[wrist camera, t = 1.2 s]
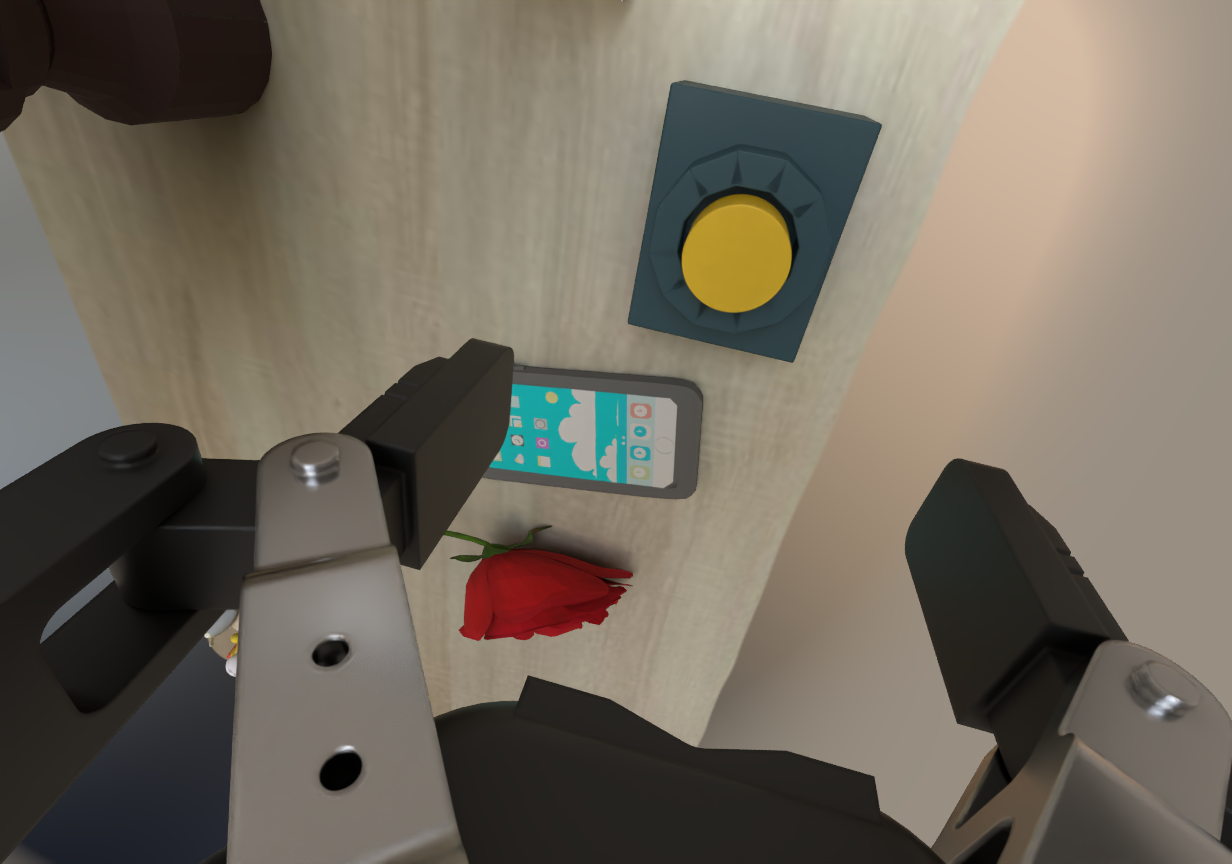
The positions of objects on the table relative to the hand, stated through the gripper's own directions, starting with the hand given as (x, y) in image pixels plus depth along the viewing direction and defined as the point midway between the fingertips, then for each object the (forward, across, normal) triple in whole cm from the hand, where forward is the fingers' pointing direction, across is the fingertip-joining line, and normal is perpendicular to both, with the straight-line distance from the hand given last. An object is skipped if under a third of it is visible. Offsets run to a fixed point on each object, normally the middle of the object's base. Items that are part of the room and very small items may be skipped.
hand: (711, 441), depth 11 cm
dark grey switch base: (+20, 0, 0) cm, 20 cm away
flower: (+21, +15, +26) cm, 36 cm away
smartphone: (+20, +6, +14) cm, 26 cm away
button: (+15, 0, 0) cm, 15 cm away
